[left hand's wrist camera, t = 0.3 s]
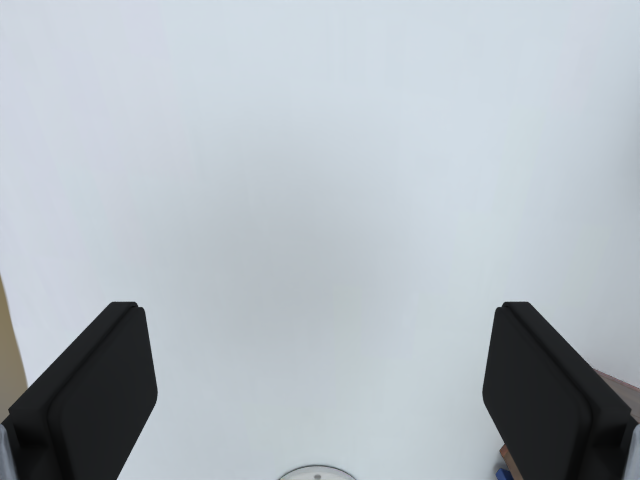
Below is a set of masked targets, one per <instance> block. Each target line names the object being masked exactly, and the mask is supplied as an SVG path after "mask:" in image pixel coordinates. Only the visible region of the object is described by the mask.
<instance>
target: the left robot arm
mask: <svg viewBox="0 0 640 480" xmlns="http://www.w3.org/2000/svg"><path fill="white" fill-rule="evenodd" d="M157 394H158V391H157V384H156V377H155V371H154V365H153V359H152V353H151V346H150V340H149V334H148V328H147V322H146V315H145V311H144V309H143V308H142V307H138V305H137V303H136V302H111V303H110V304H109V305H108V306H107V307H106V308H105V309H104V310H103V311H102V312H101V313H100V314H99V315H98V316H97V317H96V318H95V320H94V321H93V322H92V323H91V324H90V325H89V326H88V327H87V328H86V329H85V330H84V331H83V332H82V333H81V334H80V335H79V336H78V337H77V338H76V339H75V340H74V341H73V342H72V343H71V344H70V346H69V347H68V348H67V349H66V350H65V351H64V352H63V353H62V354H61V355H60V356H59V357H58V358H57V359H56V360H55V361H54V362H53V363H52V364H51V365H50V366H49V367H48V368H47V369H46V371H45V372H44V373H43V374H42V375H41V376H40V377H39V378H38V379H37V380H36V381H35V382H34V383H33V384H32V385H31V386H30V387H29V388H28V389H27V390H26V391H25V393H23V394H22V396H21V397H20V398H19V399H18V400H17V401H16V402H15V403H14V404H13V405H12V406H11V407H10V408H9V409H8V410H9V413H10V415H9V416H8V417H7V418H6V419H5V420H4V421H3V422H2V423H1V424H0V480H117V478H118V476H119V474H120V472H121V470H122V468H123V466H124V464H125V462H126V460H127V458H128V457H129V455H130V453H131V451H132V449H133V447H134V445H135V443H136V441H137V439H138V437H139V435H140V433H141V431H142V429H143V427H144V425H145V424H146V422H147V420H148V418H149V416H150V414H151V412H152V410H153V408H154V406H155V404H156V401H157ZM482 394H483V401H484V404H485V406H486V408H487V410H488V412H489V414H490V416H491V418H492V420H493V422H494V424H495V425H496V427H497V429H498V431H499V433H500V435H501V437H502V439H503V441H504V443H505V445H506V447H507V449H508V451H509V453H510V455H511V457H512V458H513V460H514V462H515V464H516V466H517V468H518V470H519V472H520V474H521V476H522V478H523V480H640V424H639V423H638V422H637V421H636V420H635V419H634V418H633V417H632V416H631V415H630V413H631V410H632V409H631V408H630V407H629V406H628V405H627V404H626V403H625V402H624V401H623V400H622V399H621V398H620V397H619V395H618V394H617V393H616V392H615V391H614V390H613V389H612V388H611V387H610V386H609V385H608V384H607V383H606V382H605V381H604V380H603V379H602V378H601V377H600V376H599V375H598V374H597V373H596V372H595V371H594V369H593V368H592V367H591V366H590V365H589V364H588V363H587V362H586V361H585V360H584V359H583V358H582V357H581V356H580V355H579V354H578V353H577V352H576V351H575V350H574V349H573V348H572V347H571V346H570V344H569V343H568V342H567V341H566V340H565V339H564V338H563V337H562V336H561V335H560V334H559V333H558V332H557V331H556V330H555V329H554V328H553V327H552V326H551V325H550V324H549V323H548V322H547V321H546V320H545V318H544V317H543V316H542V315H541V314H540V313H539V312H538V311H537V310H536V309H535V308H534V307H533V306H532V305H531V304H530V303H529V302H504V303H503V305H502V307H498V308H497V309H496V311H495V315H494V322H493V328H492V334H491V340H490V346H489V353H488V359H487V365H486V371H485V377H484V384H483V391H482ZM280 480H355V479H354V478H352V477H351V476H350V475H348V474H346V473H345V472H343V471H340V470H337V469H334V468H330V467H323V466H312V467H305V468H301V469H297V470H295V471H292V472H290V473H288V474H287V475H285V476H284V477H282V478H281V479H280Z"/></svg>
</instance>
